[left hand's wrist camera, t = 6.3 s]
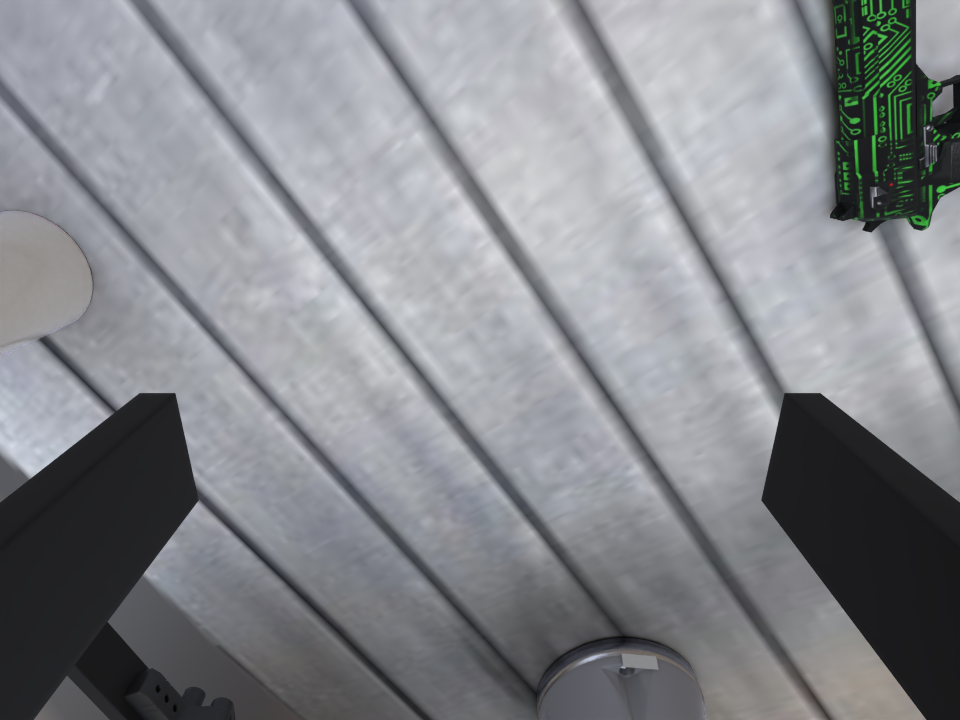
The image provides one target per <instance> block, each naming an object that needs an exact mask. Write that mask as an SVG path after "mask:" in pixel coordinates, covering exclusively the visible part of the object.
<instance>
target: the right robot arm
mask: <svg viewBox="0 0 960 720" xmlns="http://www.w3.org/2000/svg"><path fill="white" fill-rule="evenodd" d="M67 676H68V677H69V678H70V679H71V680H72V681H73V682H74V683H75V684H76V685H77V686H78V687H79V688H80V689H81V690H82V691H83V692H84V693H85V694H86V695H87V696H88V698H89V699H90V700H91V701H92V702H93V703H94V704H95V705H96V706H97V707H98V708H99V709H100V710H101V711H102V712H103V713H104V714H105V715H106V716H107V717H108V718H109V719H110V720H235V712H234V705H233V702H232V701H231V700H229V699H227V698H217V699H215V700H214V701H213V702H212V704H211V706H204V707H201V705H202V703H203V701H204V698H205V692H204V691H203V690H202V689H200V688H197V687H190V688H188V689H186V690H185V692H184V694H183V696H182V697H181V696H180V695H179V693H178V692H177V691H176V690H175V689H174V688H173V687H172V686H171V684H170V683H169V682H168V681H166V679H165V677H164V676H163V675H162V674H161V673H160V672H158V671H156V670H154V669H153V668H152V669H148V667H147V666H146V665H145V664H144V663H143V662H142V661H141V659H140V658H139V657H138V656H137V655H136V654H135V653H134V652H133V650H132V649H131V648H130V647H129V646H128V645H127V644H126V643H125V641H124V640H123V639H122V638H121V637H120V636H119V635H118V633H117V632H116V631H115V630H114V629H113V628H112V627H111V626H110V624H109V623H108V622H107V623H106V624H105V625H104V627H103V628H102V629H101V631H100V632H99V633H98V635H97V636H96V637H95V639H94V640H93V641H92V643H91V644H90V645H89V647H88V648H87V649H86V651H85V652H84V653H83V655H82V656H81V657H80V659H79V660H78V661H77V663H76V664H75V665H74V667H73V668H72V669H71V671H70V672H69V673H68V675H67ZM536 702H537V714H538V720H704V716H705V709H704V708H705V707H704V698H703V695H702V692H701V689H700V687H699V684H698V682H697V679H696V676H695V674H694V672H693V670H692V668H691V667H690V666H689V664H688V663H687V662H686V661H685V660H684V659H683V658H682V657H681V656H680V655H679V654H677V653H676V652H674V651H673V650H671V649H669V648H667V647H665V646H663V645H660V644H657V643H655V642H651V641H647V640H641V639H633V638H616V639H607V640H601V641H597V642H593V643H590V644H587V645H584V646H581V647H579V648H577V649H575V650H573V651H571V652H569V653H567V654H566V655H564V656H563V657H561V658H560V659H559V660H558V661H556V662H555V663H554V664H553V665H552V666H551V667H550V668H549V670H548V671H547V672H546V673H545V675H544V677H543V678H542V680H541V682H540V684H539V687H538V691H537V698H536Z"/></svg>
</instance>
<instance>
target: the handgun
mask: <svg viewBox="0 0 960 720" xmlns="http://www.w3.org/2000/svg"><path fill="white" fill-rule="evenodd" d="M833 7H834V23H835V43H836V63H837V83H838V100H839V115H840V130H841V138H839V139H836V140H834V141H835V154H836V167H837V172H836V173H835V183H836V198H837V206H836V207H835V209H834V210H833V211H832V213H831V214H830V218H833V219H837V220H841V221H845V220H848V219H854V220H859V221H863V222H866V224H865V226H864V228H863V230H864V231H867V232H872V231H873V230H874V229H875V228H876V227H877V226H879V225H880V224H881V223H883V222H884V221H886V220H889V219H899V218H906V219H907V220H908V222H909V223H910V225H911V226H912V227H913V228H914V229H917V230H921V231H922V230H925V229H926V228H928V227H929V225H930V221H931V216H932V212H933V210H934V208H935V207H936V205H937V203H938V201H939V199H940V197H942V196H944V195H946V194H948V193H949V192H951V191H953V190H955V189H957V188H958V187H960V75H956V76H954V77H952V78H951V79H948V80H944V81H941V82H936V81H934V80H931V79H928V77H927V76H926V75H925V74H924V73H923V72H922V70H921V69H920V68H919V67H918V66H917V64H916V0H833ZM952 84H953V103H954V108H953V109H951V110H950V111H948V112H947V113H945V114H942V115H939V116H936V117H932V102H933V101H934V100H935V99H936V98H937V97H938V96H939V95H940V94H941V93H942V87H945V86H948V85H952ZM946 121H947V122H946ZM944 122H946V123H944ZM934 126H935V127H934Z"/></svg>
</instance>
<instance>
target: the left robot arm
mask: <svg viewBox="0 0 960 720" xmlns="http://www.w3.org/2000/svg"><path fill="white" fill-rule="evenodd" d="M197 502H198V495H197V491H196V486H195V482H194V477H193V472H192V468H191V463H190V459H189V454H188V449H187V445H186V440H185V436H184V431H183V426H182V422H181V417H180V413H179V408H178V404H177V399H176V394H175V393H139V394H138V395H137V396H136V397H134V398H133V399H132V400H130V401H129V402H128V403H127V404H125V405H124V406H123V407H122V408H120V409H119V410H118V411H116V412H115V413H114V414H113V415H111V416H110V417H109V418H108V419H106V420H105V421H104V422H102V423H101V424H100V425H99V426H97V427H96V428H95V429H94V430H92V431H91V432H90V433H88V434H87V435H86V436H85V437H83V438H82V439H81V440H79V441H78V442H77V443H76V444H74V445H73V446H72V447H71V448H69V449H68V450H67V451H65V452H64V453H63V454H62V455H60V456H59V457H58V458H57V459H55V460H54V461H53V462H51V463H50V464H49V465H48V466H46V467H45V468H44V469H43V470H41V471H40V472H39V473H37V474H36V475H35V476H34V477H32V478H31V479H30V480H28V481H27V482H26V483H25V484H23V485H22V486H21V487H20V488H18V489H17V490H16V491H15V492H13V493H12V494H11V495H9V496H8V497H7V498H6V499H4V500H3V501H2V502H0V720H34V718H35V717H36V716H37V714H38V713H39V712H40V710H41V709H42V708H43V706H44V705H45V704H46V702H47V701H48V700H49V698H50V697H51V696H52V694H53V693H54V692H55V691H56V689H57V688H58V687H59V685H60V684H61V683H62V681H63V680H64V679H65V677H66V676H67V675H68V673H69V672H70V671H71V669H72V668H73V667H74V665H75V664H76V663H77V661H78V660H79V659H80V657H81V656H82V655H83V653H84V652H85V651H86V649H87V648H88V647H89V645H90V644H91V643H92V641H93V640H94V639H95V637H96V636H97V635H98V633H99V632H100V631H101V629H102V628H103V627H104V625H105V624H106V623H107V621H108V620H109V619H110V617H111V616H112V615H113V613H114V612H115V611H116V609H117V608H118V607H119V605H120V604H121V603H122V601H123V600H124V599H125V597H126V596H127V595H128V594H129V592H130V591H131V590H132V588H133V587H134V585H135V584H136V583H137V582H138V580H139V579H140V577H141V576H142V575H143V574H144V572H145V571H146V570H147V568H148V567H149V566H150V564H151V563H152V562H153V560H154V559H155V558H156V556H157V555H158V554H159V552H160V551H161V550H162V548H163V547H164V546H165V544H166V543H167V542H168V540H169V539H170V538H171V536H172V535H173V534H174V532H175V531H176V530H177V528H178V527H179V526H180V524H181V523H182V522H183V520H184V519H185V518H186V516H187V515H188V514H189V512H190V511H191V510H192V508H193V507H194V506H195V504H196V503H197ZM762 502H763V503H764V504H765V506H766V507H767V508H768V510H769V511H770V512H771V514H772V515H773V516H774V518H775V519H776V520H777V522H778V523H779V524H780V526H781V527H782V528H783V530H784V531H785V532H786V534H787V535H788V536H789V538H790V539H791V540H792V542H793V543H794V544H795V546H796V547H797V548H798V550H799V551H800V552H801V554H802V555H803V556H804V558H805V559H806V560H807V562H808V563H809V564H810V566H811V567H812V568H813V570H814V571H815V572H816V574H817V575H818V576H819V578H820V579H821V580H822V582H823V583H824V584H825V586H826V587H827V588H828V590H829V591H830V592H831V594H832V595H833V596H834V597H835V599H836V600H837V601H838V603H839V604H840V605H841V607H842V608H843V609H844V611H845V612H846V613H847V615H848V616H849V617H850V619H851V620H852V621H853V623H854V624H855V625H856V627H857V628H858V629H859V631H860V632H861V633H862V635H863V636H864V637H865V639H866V640H867V641H868V643H869V644H870V645H871V647H872V648H873V649H874V651H875V652H876V653H877V655H878V656H879V657H880V659H881V660H882V661H883V663H884V664H885V665H886V667H887V668H888V669H889V671H890V672H891V673H892V675H893V676H894V677H895V679H896V680H897V681H898V683H899V684H900V685H901V687H902V688H903V689H904V691H905V692H906V693H907V695H908V696H909V697H910V699H911V700H912V701H913V702H914V704H915V705H916V706H917V708H918V709H919V710H920V712H921V713H922V714H923V716H924V717H925V718H926V720H960V502H958V501H957V500H956V499H954V498H953V497H952V496H951V495H949V494H948V493H947V492H946V491H944V490H943V489H942V488H940V487H939V486H938V485H937V484H935V483H934V482H933V481H932V480H930V479H929V478H928V477H926V476H925V475H924V474H923V473H921V472H920V471H919V470H917V469H916V468H915V467H914V466H912V465H911V464H910V463H909V462H907V461H906V460H905V459H903V458H902V457H901V456H900V455H898V454H897V453H896V452H895V451H893V450H892V449H891V448H889V447H888V446H887V445H886V444H884V443H883V442H882V441H881V440H879V439H878V438H877V437H875V436H874V435H873V434H872V433H870V432H869V431H868V430H866V429H865V428H864V427H863V426H861V425H860V424H859V423H858V422H856V421H855V420H854V419H852V418H851V417H850V416H849V415H847V414H846V413H845V412H844V411H842V410H841V409H840V408H838V407H837V406H836V405H835V404H833V403H832V402H831V401H830V400H828V399H827V398H826V397H824V396H823V395H822V394H821V393H785V394H784V399H783V404H782V408H781V413H780V417H779V422H778V426H777V431H776V436H775V440H774V445H773V449H772V454H771V459H770V463H769V468H768V472H767V477H766V482H765V486H764V491H763V495H762Z"/></svg>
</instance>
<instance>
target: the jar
mask: <svg viewBox="0 0 960 720" xmlns="http://www.w3.org/2000/svg"><path fill="white" fill-rule="evenodd" d="M92 291H93V282H92V275H91V271H90V268H89V265H88V262H87V260H86V258H85V256H84V254H83V253H82V251H81V250H80V248H79V247H78V245H77V244H76V243H75V242H74V240H73V239H72V238H71V237H70V236H69V235H68V234H67V233H66V232H65V231H63V230H62V229H61V228H60V227H58V226H57V225H55V224H54V223H52V222H51V221H49V220H47V219H45V218H43V217H40V216H38V215H35V214H32V213H28V212H23V211H1V212H0V358H2V357H4V356H6V355H8V354H10V353H12V352H14V351H16V350H18V349H20V348H22V347H24V346H26V345H29V344H31V343H33V342H35V341H37V340H39V339H41V338H43V337H45V336H47V335H49V334H51V333H53V332H55V331H57V330H60V329H62V328H64V327H66V326H68V325H70V324H72V323H73V322H75V321H76V320H78V319H79V318H80V317H81V316H82V315H83V314H84V312H85V311H86V309H87V308H88V306H89V303H90V300H91V297H92Z"/></svg>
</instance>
